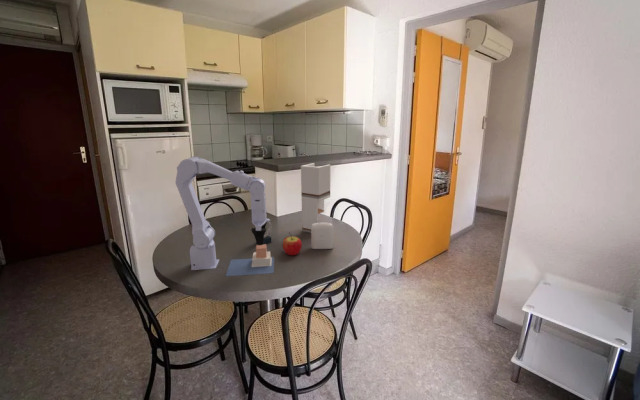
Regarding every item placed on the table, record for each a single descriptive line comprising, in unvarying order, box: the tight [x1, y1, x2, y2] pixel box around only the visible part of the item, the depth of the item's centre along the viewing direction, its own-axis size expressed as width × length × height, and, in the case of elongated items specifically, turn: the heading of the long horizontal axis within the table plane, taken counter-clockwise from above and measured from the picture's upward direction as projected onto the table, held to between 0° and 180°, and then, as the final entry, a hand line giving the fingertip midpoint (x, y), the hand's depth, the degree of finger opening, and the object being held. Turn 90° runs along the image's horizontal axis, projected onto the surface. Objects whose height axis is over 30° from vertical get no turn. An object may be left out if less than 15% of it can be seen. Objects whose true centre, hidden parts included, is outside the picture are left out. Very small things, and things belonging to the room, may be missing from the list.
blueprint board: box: [225, 256, 275, 277], centre depth 122 cm, size 18×14×1 cm
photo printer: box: [310, 221, 335, 250], centre depth 138 cm, size 10×4×12 cm, turn 89°
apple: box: [282, 232, 303, 256], centre depth 132 cm, size 8×8×10 cm
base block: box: [251, 250, 272, 266], centre depth 125 cm, size 7×7×3 cm
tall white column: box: [300, 162, 331, 234], centre depth 159 cm, size 11×11×35 cm
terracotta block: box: [255, 244, 268, 258], centre depth 124 cm, size 4×4×4 cm
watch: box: [254, 221, 273, 245], centre depth 145 cm, size 6×8×11 cm
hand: (260, 241), depth 123 cm, fingers open, 7 cm apart
